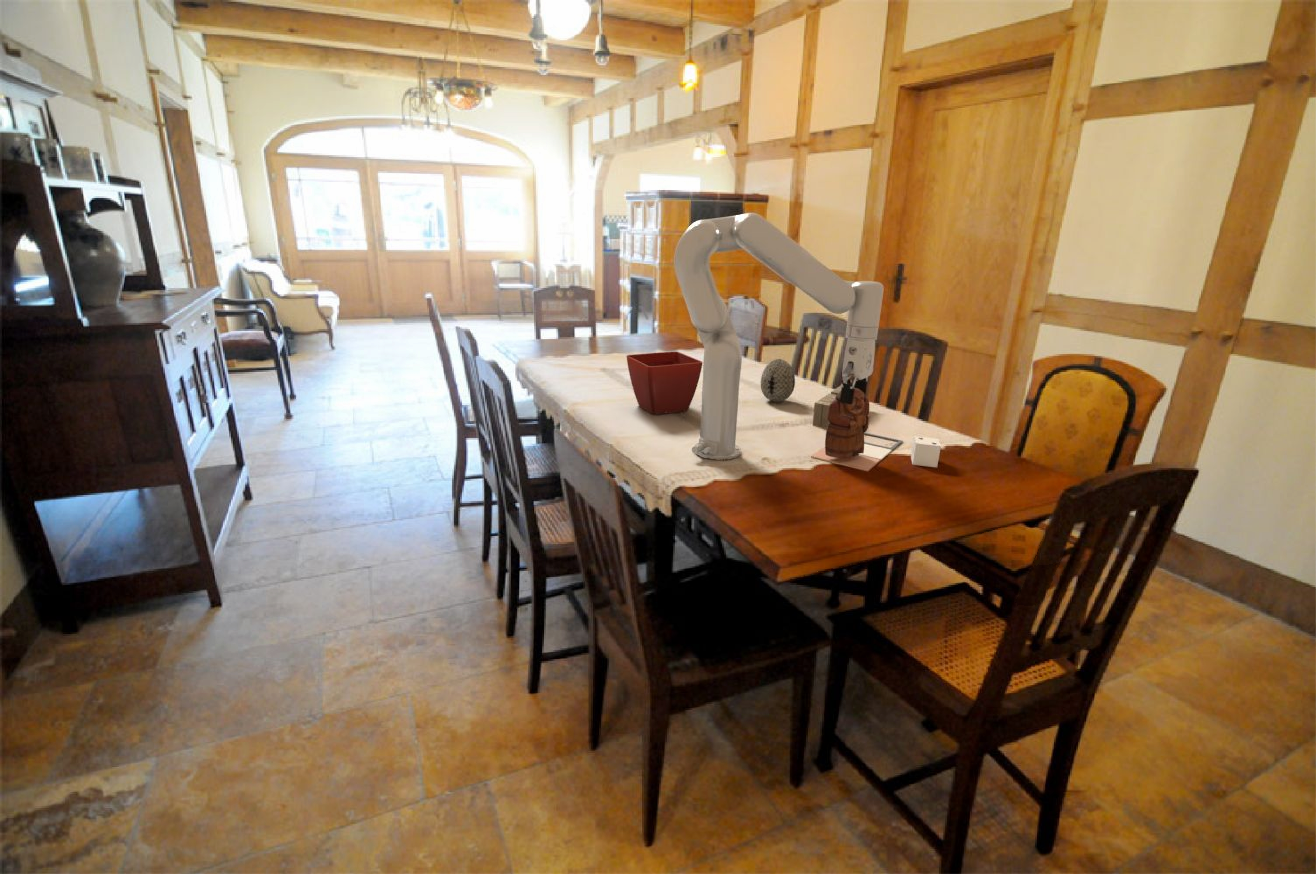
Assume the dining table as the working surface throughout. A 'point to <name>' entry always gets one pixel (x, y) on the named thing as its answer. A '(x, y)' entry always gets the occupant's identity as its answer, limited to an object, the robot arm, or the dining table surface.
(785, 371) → the decorative egg
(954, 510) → the dining table surface
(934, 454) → the die
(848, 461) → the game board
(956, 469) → the dining table surface
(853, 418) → the wooden figurine
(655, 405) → the plant pot
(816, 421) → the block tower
